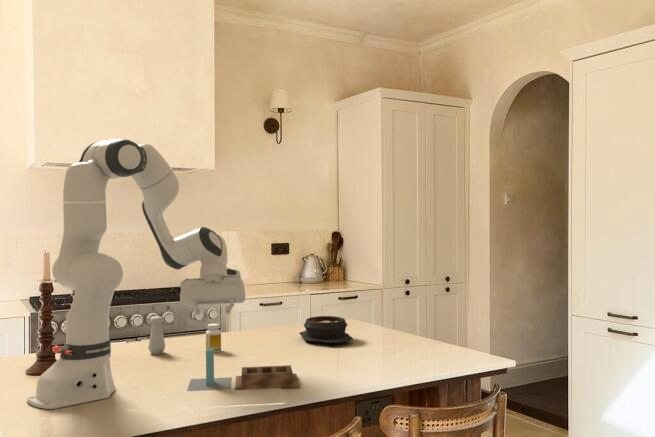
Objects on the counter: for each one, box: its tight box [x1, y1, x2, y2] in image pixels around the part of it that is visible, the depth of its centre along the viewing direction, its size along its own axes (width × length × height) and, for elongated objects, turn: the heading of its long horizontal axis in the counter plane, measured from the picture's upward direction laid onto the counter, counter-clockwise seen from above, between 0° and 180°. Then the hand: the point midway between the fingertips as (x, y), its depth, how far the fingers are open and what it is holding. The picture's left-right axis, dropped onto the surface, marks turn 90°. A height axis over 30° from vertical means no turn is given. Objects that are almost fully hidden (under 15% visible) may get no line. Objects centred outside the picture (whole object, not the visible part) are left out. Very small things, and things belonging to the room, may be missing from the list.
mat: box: [186, 376, 233, 392], centre depth 176 cm, size 12×12×1 cm
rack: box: [234, 364, 301, 391], centre depth 177 cm, size 18×12×4 cm, turn 98°
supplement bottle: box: [205, 323, 222, 354], centre depth 218 cm, size 5×5×10 cm
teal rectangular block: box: [205, 348, 215, 386], centre depth 176 cm, size 2×4×10 cm, turn 7°
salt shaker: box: [148, 315, 166, 356], centre depth 216 cm, size 6×6×13 cm
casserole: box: [298, 315, 354, 345], centre depth 235 cm, size 25×19×8 cm
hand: (212, 313), depth 188 cm, fingers open, 8 cm apart
